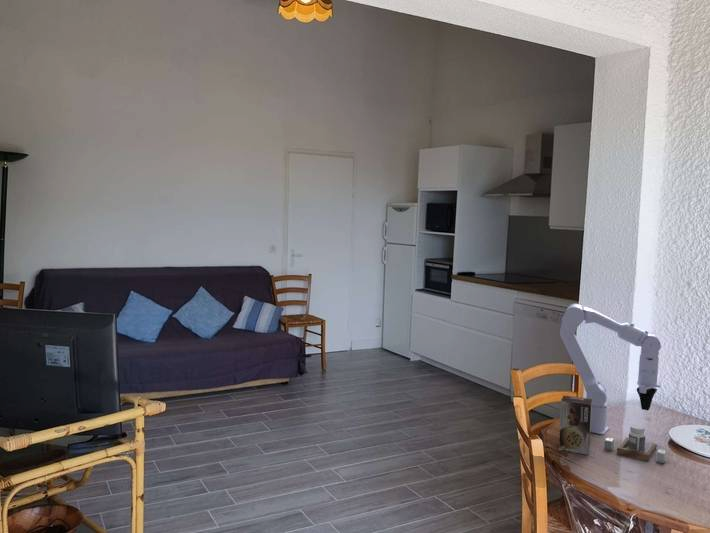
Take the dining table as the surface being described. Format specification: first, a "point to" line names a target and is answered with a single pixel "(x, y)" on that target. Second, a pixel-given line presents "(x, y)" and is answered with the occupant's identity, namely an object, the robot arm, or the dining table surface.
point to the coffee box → (575, 424)
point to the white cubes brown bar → (635, 454)
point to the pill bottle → (636, 438)
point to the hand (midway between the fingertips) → (645, 409)
